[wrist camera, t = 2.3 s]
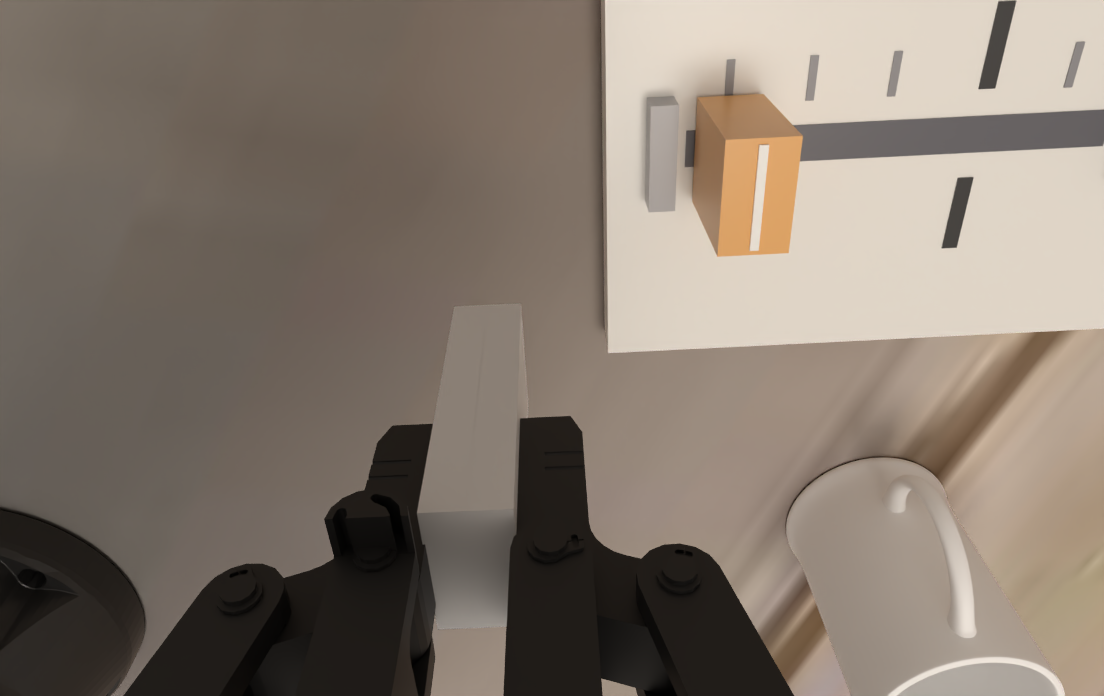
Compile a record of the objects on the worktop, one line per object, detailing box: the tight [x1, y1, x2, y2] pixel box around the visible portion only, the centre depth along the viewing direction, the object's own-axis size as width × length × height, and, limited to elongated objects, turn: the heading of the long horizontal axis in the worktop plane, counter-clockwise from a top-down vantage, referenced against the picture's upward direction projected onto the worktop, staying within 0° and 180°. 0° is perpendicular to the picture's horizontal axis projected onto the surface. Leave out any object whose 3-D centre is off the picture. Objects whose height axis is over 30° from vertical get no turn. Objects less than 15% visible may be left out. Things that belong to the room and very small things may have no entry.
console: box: [601, 0, 1104, 353], centre depth 31 cm, size 22×16×3 cm
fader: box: [692, 94, 803, 257], centre depth 28 cm, size 2×4×5 cm, turn 3°
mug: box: [786, 457, 1065, 696], centre depth 38 cm, size 12×8×12 cm
